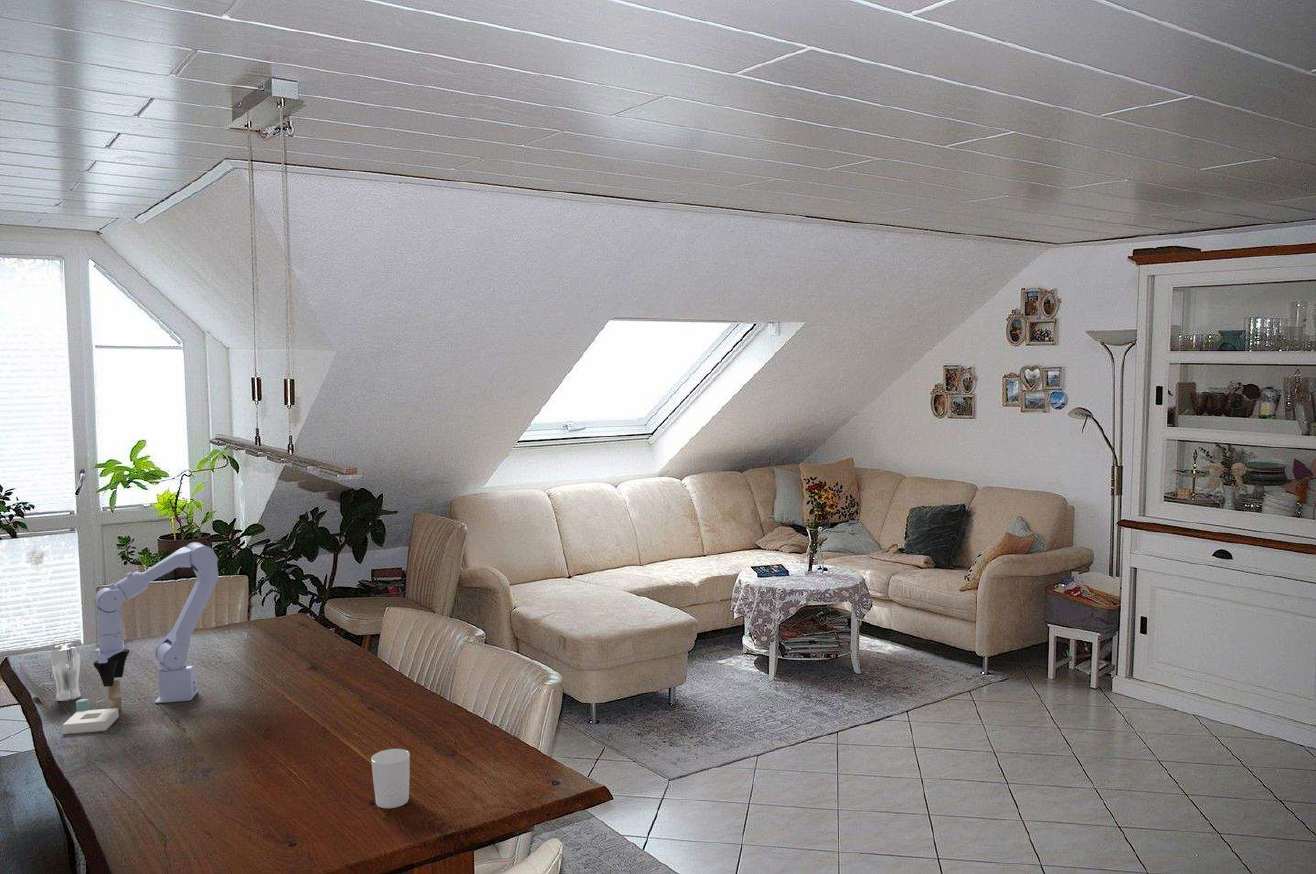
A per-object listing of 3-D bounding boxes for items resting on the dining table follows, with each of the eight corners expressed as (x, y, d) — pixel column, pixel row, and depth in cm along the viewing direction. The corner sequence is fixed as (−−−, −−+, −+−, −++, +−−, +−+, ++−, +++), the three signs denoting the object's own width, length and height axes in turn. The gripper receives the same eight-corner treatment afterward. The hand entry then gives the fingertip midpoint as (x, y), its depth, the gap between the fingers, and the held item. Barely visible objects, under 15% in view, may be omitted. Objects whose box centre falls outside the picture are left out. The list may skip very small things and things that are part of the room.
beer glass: (69, 703, 278) (65, 650, 277) (48, 701, 280) (44, 649, 279) (88, 694, 285) (84, 643, 284) (67, 693, 287) (63, 642, 285)
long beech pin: (123, 708, 273) (121, 680, 272) (119, 712, 270) (117, 683, 269) (111, 709, 272) (109, 681, 272) (107, 713, 269) (105, 684, 269)
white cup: (377, 794, 215) (375, 749, 214) (414, 792, 215) (412, 747, 214) (369, 811, 207) (367, 764, 206) (408, 809, 207) (406, 762, 207)
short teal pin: (91, 714, 269) (90, 698, 268) (87, 718, 266) (86, 702, 265) (79, 715, 268) (78, 699, 268) (75, 719, 265) (74, 703, 265)
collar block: (118, 717, 266) (118, 707, 266) (105, 730, 256) (105, 721, 256) (78, 720, 264) (77, 711, 264) (63, 734, 254) (62, 724, 254)
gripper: (103, 626, 276) (106, 674, 277) (84, 640, 262) (87, 691, 263) (131, 624, 277) (134, 672, 278) (113, 639, 263) (116, 689, 264)
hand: (113, 681), depth 270 cm, fingers open, 7 cm apart
